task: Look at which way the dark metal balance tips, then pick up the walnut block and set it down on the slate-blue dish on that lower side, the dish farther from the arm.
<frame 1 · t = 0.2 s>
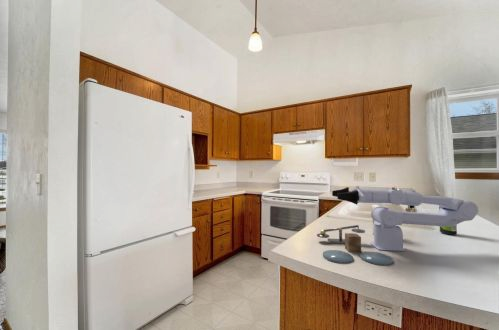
hand: (334, 194, 91), 21 cm above the table, tool horizontal, fingers open, 7 cm apart
syrup box: (381, 236, 103), on the table
balance: (340, 242, 94), on the table
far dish: (337, 257, 78), on the table
beverage can: (448, 234, 107), on the table
walnut block: (352, 250, 85), on the table
near dish: (375, 259, 76), on the table
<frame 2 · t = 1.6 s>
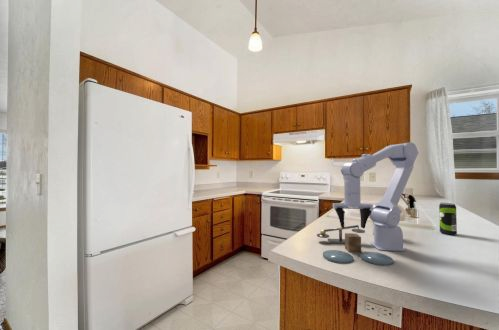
hand: (352, 227, 85), 9 cm above the table, tool pointing down, fingers open, 7 cm apart
nothing on the table moved.
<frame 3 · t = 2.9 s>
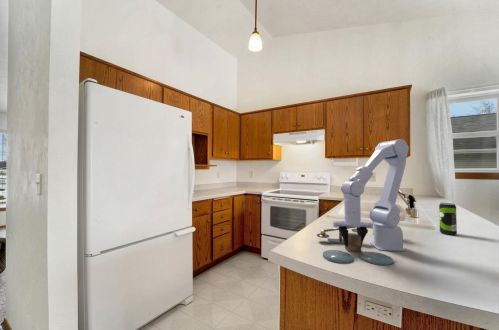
hand: (352, 246, 85), 2 cm above the table, tool pointing down, fingers closed on walnut block, 4 cm apart
walnut block: (352, 250, 85), on the table, touching gripper
everything else where it was.
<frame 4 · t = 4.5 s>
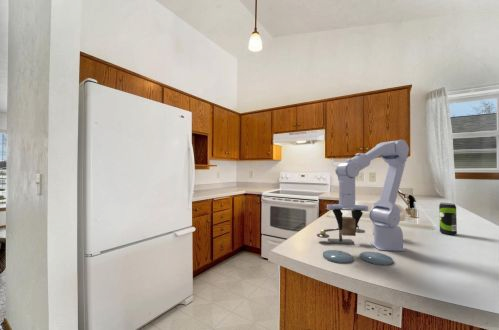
hand: (347, 229, 83), 9 cm above the table, tool pointing down, fingers closed on walnut block, 4 cm apart
walnut block: (347, 233, 83), point 7 cm above the table, touching gripper
everything else where it was.
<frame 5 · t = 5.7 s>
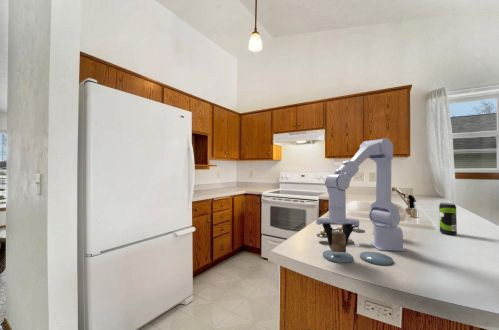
hand: (337, 245, 78), 4 cm above the table, tool pointing down, fingers closed on walnut block, 4 cm apart
walnut block: (337, 249, 78), point 3 cm above the table, touching gripper
everything else where it was.
when the fingers open (4 cm above the table, at t = 6.3 s): walnut block drops 1 cm, resting on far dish.
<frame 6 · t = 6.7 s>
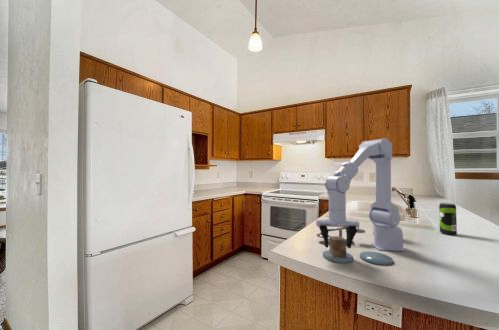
hand: (337, 247, 78), 4 cm above the table, tool pointing down, fingers open, 7 cm apart
walnut block: (337, 255, 78), point 1 cm above the table, touching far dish
everything else where it was.
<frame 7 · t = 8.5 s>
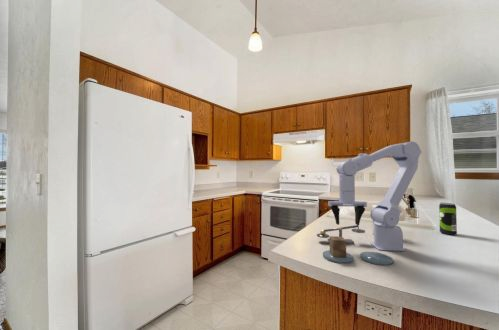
hand: (347, 224, 88), 9 cm above the table, tool pointing down, fingers open, 7 cm apart
nothing on the table moved.
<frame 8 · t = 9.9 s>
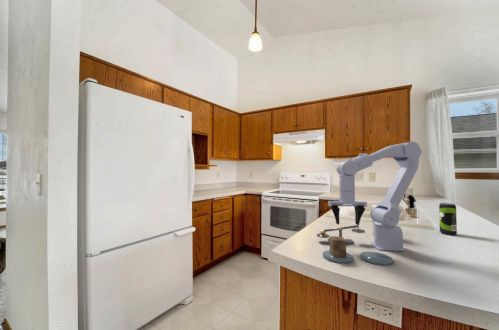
hand: (347, 224, 88), 9 cm above the table, tool pointing down, fingers open, 7 cm apart
nothing on the table moved.
at the end: walnut block 0.1 cm off-centre on the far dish, point 0.8 cm above the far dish's base; walnut block tilted 0°; the gripper is holding nothing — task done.
